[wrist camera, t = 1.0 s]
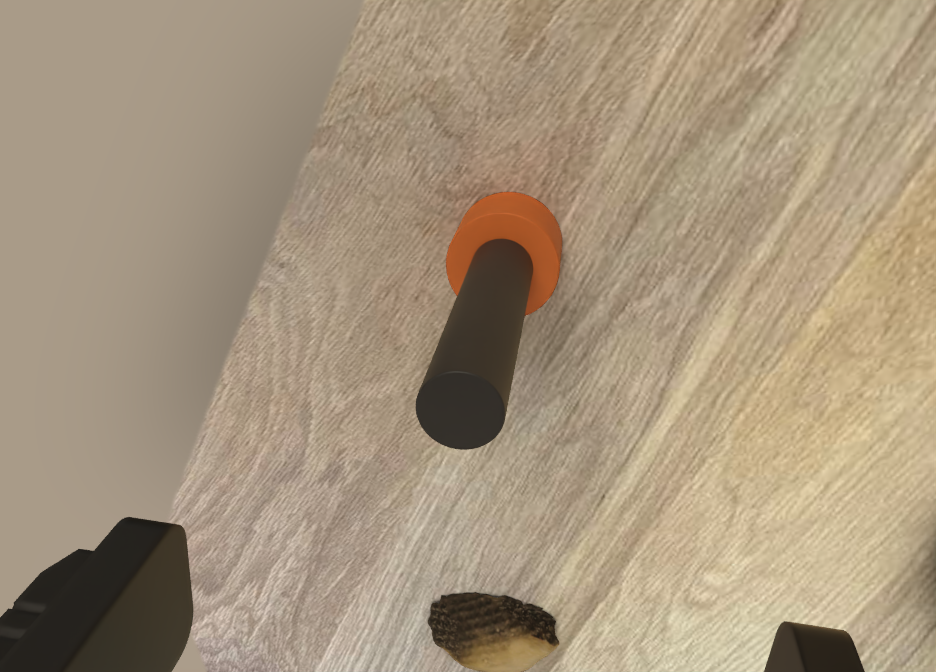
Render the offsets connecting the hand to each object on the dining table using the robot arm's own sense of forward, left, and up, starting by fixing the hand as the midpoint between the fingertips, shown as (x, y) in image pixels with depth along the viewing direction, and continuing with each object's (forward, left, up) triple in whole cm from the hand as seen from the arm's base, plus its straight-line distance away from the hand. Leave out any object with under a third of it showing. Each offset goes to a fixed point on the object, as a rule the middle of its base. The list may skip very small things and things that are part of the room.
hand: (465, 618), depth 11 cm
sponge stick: (+2, -3, -24) cm, 24 cm away
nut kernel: (+21, -12, -24) cm, 34 cm away
